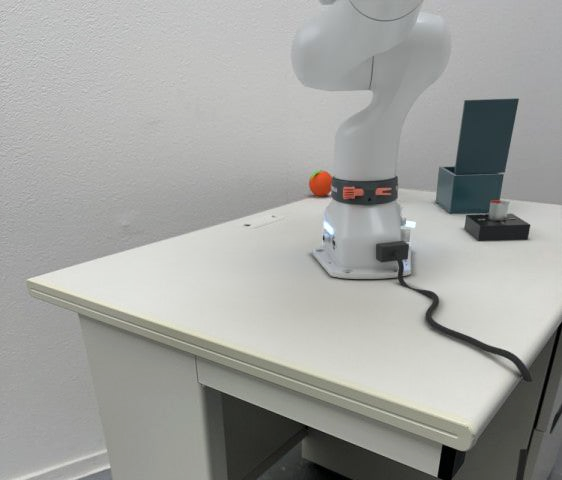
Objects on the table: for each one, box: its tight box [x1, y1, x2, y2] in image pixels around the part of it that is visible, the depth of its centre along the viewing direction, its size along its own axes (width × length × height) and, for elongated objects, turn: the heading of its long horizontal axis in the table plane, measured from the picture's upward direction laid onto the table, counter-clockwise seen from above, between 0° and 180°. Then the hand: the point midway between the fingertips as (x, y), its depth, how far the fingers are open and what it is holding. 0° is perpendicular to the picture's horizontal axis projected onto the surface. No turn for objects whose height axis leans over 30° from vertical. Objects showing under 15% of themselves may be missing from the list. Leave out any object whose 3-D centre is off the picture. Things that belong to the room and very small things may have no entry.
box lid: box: [454, 97, 520, 174], centre depth 123 cm, size 16×12×1 cm
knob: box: [488, 199, 510, 221], centre depth 112 cm, size 4×4×4 cm
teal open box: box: [435, 165, 505, 215], centre depth 136 cm, size 15×12×9 cm
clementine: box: [308, 169, 333, 197], centre depth 154 cm, size 8×7×7 cm
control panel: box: [463, 213, 531, 242], centre depth 114 cm, size 10×10×3 cm
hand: (368, 31), depth 108 cm, fingers open, 8 cm apart
